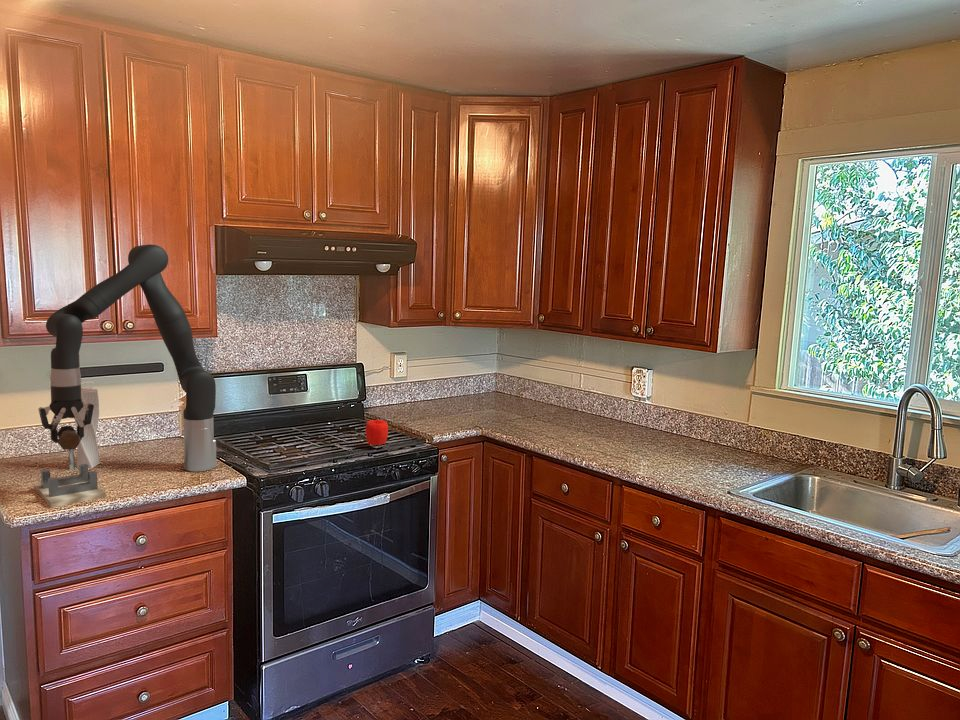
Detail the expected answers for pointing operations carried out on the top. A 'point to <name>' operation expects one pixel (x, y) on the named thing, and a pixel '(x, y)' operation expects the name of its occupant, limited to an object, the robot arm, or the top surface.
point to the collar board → (68, 496)
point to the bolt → (68, 438)
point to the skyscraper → (87, 432)
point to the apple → (376, 432)
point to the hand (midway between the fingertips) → (67, 440)
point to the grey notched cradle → (69, 482)
